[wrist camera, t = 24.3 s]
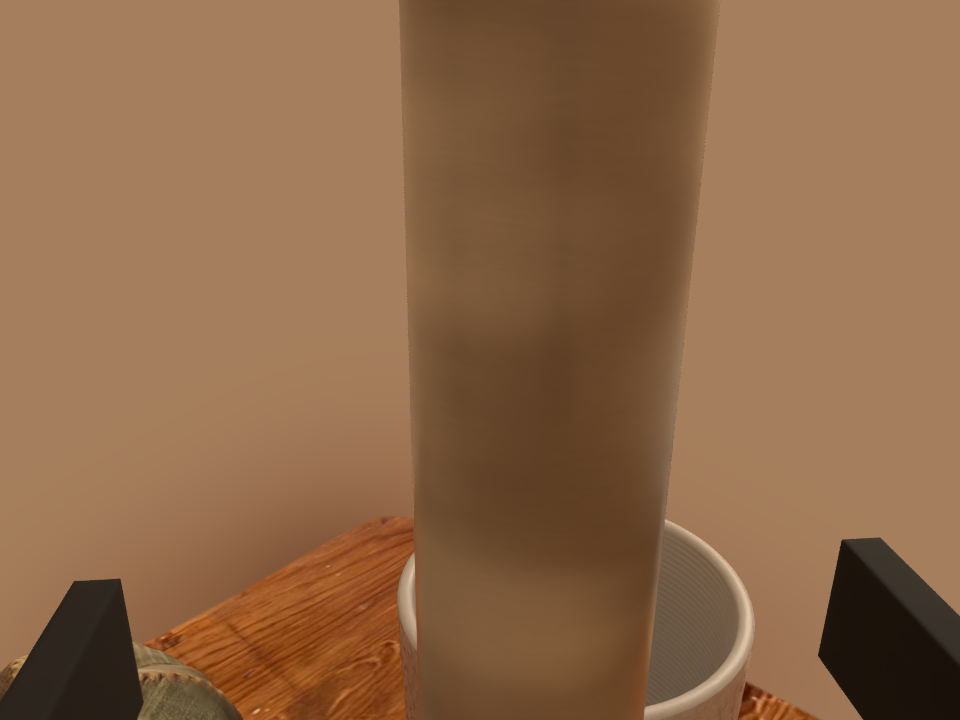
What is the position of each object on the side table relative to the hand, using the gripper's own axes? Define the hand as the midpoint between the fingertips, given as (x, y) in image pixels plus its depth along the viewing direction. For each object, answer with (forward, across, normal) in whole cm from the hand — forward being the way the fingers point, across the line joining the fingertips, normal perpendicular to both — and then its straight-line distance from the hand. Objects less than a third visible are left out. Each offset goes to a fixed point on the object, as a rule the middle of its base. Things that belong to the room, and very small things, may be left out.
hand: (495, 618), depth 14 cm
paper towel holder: (-3, 0, -18) cm, 18 cm away
